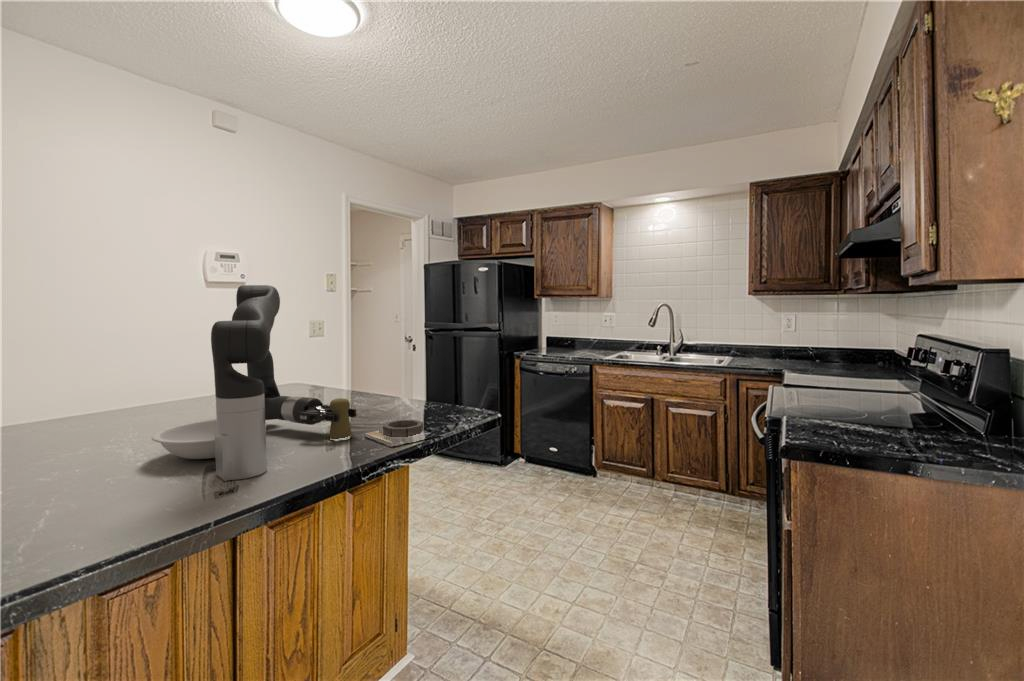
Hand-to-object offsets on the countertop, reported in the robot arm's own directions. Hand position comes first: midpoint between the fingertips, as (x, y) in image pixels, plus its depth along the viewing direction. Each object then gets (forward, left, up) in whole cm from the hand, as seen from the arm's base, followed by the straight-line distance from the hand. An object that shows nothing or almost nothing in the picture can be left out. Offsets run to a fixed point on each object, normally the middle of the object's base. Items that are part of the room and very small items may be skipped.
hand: (347, 415), depth 134 cm
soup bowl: (-30, +10, -7) cm, 32 cm away
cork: (-1, +2, -7) cm, 7 cm away
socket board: (+12, -9, -7) cm, 16 cm away
